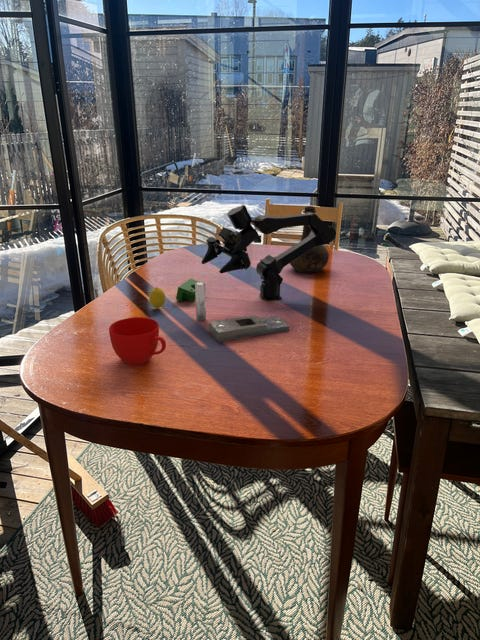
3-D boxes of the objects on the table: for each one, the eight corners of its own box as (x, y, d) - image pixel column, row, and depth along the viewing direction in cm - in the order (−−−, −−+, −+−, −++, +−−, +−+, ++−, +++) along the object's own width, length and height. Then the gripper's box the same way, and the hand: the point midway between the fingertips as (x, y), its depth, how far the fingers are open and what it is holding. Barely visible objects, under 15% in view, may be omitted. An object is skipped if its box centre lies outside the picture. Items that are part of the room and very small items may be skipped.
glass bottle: (333, 268, 213) (338, 205, 203) (317, 278, 200) (322, 211, 189) (297, 263, 222) (301, 202, 212) (280, 272, 208) (282, 207, 198)
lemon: (169, 307, 166) (167, 286, 163) (160, 312, 161) (158, 290, 158) (155, 305, 168) (154, 283, 165) (146, 310, 164) (145, 288, 161)
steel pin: (204, 317, 158) (203, 281, 153) (207, 320, 155) (206, 284, 150) (195, 318, 157) (193, 282, 152) (198, 322, 154) (196, 285, 149)
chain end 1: (254, 323, 153) (254, 314, 152) (266, 334, 145) (266, 324, 144) (208, 330, 147) (208, 321, 146) (218, 341, 140) (218, 331, 139)
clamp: (190, 312, 174) (191, 295, 167) (176, 307, 175) (175, 290, 168) (204, 292, 181) (205, 275, 175) (190, 287, 183) (190, 269, 176)
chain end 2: (276, 320, 156) (276, 315, 155) (289, 330, 148) (289, 325, 147) (225, 328, 149) (225, 323, 149) (235, 339, 142) (235, 333, 141)
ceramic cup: (149, 380, 118) (146, 343, 115) (102, 363, 127) (98, 329, 123) (181, 360, 129) (180, 326, 125) (136, 346, 137) (133, 313, 133)
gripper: (218, 214, 164) (185, 240, 158) (256, 229, 152) (222, 259, 147) (226, 238, 172) (196, 265, 167) (263, 255, 161) (232, 284, 155)
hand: (210, 267), depth 159 cm, fingers open, 9 cm apart
